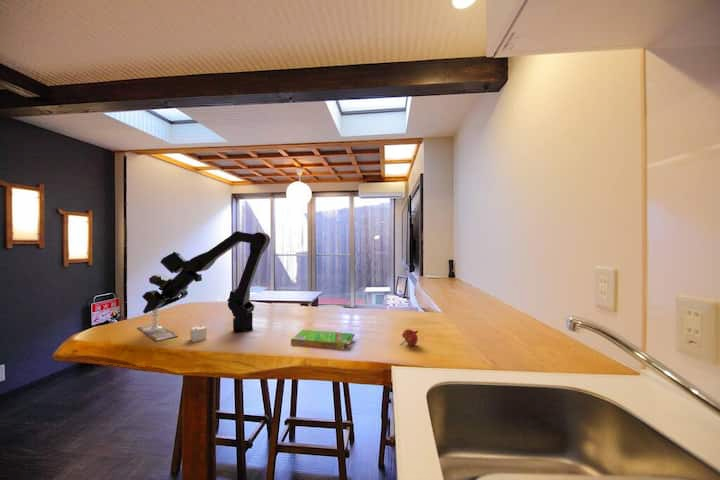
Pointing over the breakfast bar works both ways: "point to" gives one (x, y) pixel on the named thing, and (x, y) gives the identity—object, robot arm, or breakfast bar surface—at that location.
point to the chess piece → (154, 323)
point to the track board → (157, 333)
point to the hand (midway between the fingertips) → (150, 310)
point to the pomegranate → (410, 337)
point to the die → (198, 333)
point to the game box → (322, 339)
